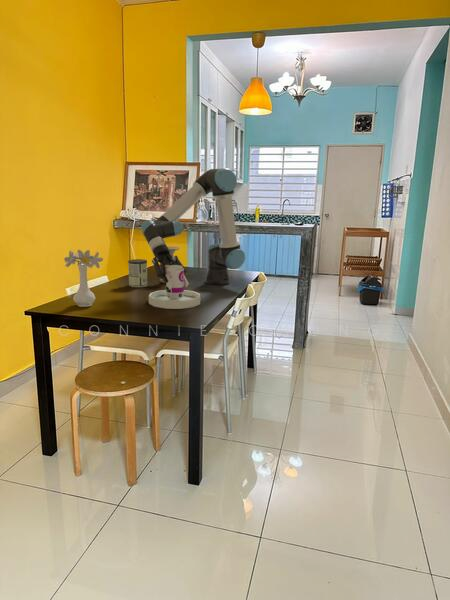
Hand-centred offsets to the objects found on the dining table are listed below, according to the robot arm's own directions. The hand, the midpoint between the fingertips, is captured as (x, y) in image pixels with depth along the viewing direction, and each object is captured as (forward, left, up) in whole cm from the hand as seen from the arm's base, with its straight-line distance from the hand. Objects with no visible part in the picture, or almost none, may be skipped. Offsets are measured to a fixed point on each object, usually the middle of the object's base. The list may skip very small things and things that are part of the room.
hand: (179, 286), depth 191 cm
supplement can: (+2, -3, -6) cm, 7 cm away
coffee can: (+25, -40, -8) cm, 48 cm away
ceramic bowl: (+2, -3, -8) cm, 9 cm away
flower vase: (+42, +5, -8) cm, 43 cm away
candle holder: (+8, -53, -8) cm, 54 cm away
